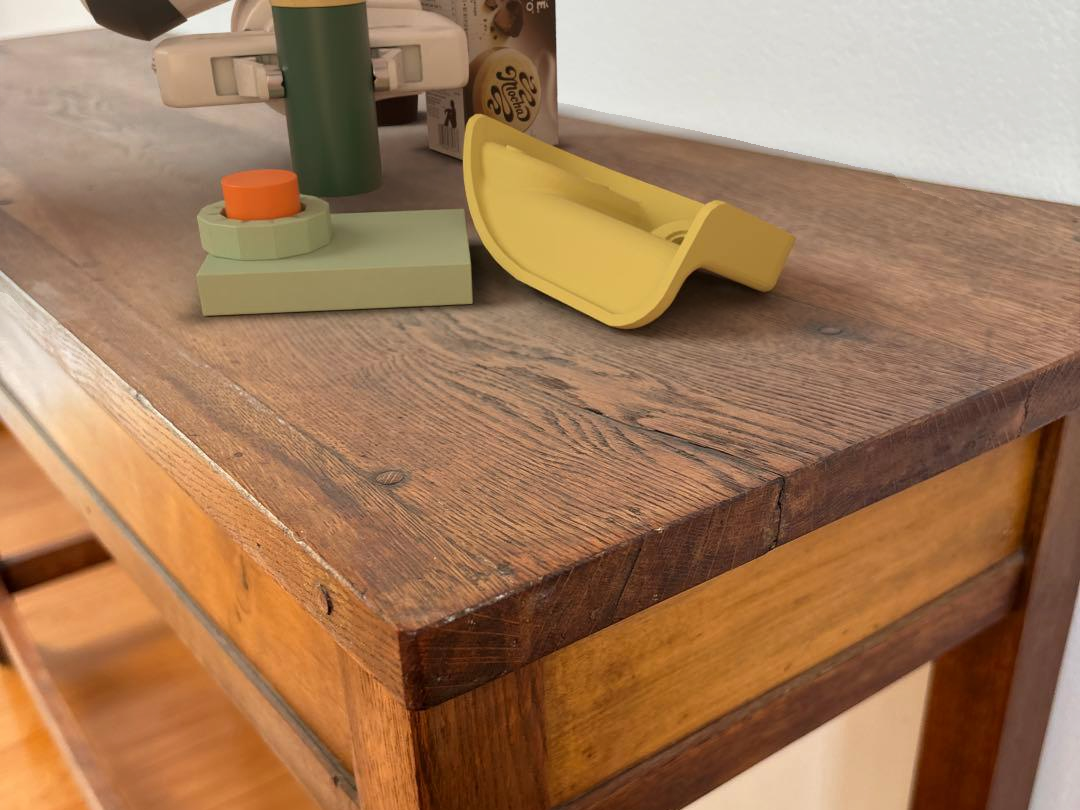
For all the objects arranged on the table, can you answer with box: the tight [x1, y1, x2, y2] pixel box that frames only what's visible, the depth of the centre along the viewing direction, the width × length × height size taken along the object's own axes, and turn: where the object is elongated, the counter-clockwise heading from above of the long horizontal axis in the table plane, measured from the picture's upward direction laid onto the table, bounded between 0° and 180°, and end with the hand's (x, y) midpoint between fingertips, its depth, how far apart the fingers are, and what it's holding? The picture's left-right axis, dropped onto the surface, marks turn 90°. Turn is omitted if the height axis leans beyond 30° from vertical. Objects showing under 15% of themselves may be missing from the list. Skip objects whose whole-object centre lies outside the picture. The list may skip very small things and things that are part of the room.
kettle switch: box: [220, 168, 302, 221], centre depth 61 cm, size 4×4×2 cm
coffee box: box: [420, 0, 559, 161], centre depth 88 cm, size 9×6×16 cm
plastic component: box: [462, 114, 797, 330], centre depth 62 cm, size 20×7×10 cm
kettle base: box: [195, 194, 474, 317], centre depth 62 cm, size 14×11×4 cm
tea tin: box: [269, 0, 384, 198], centre depth 69 cm, size 6×6×12 cm
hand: (330, 81), depth 68 cm, fingers closed on tea tin, 5 cm apart
